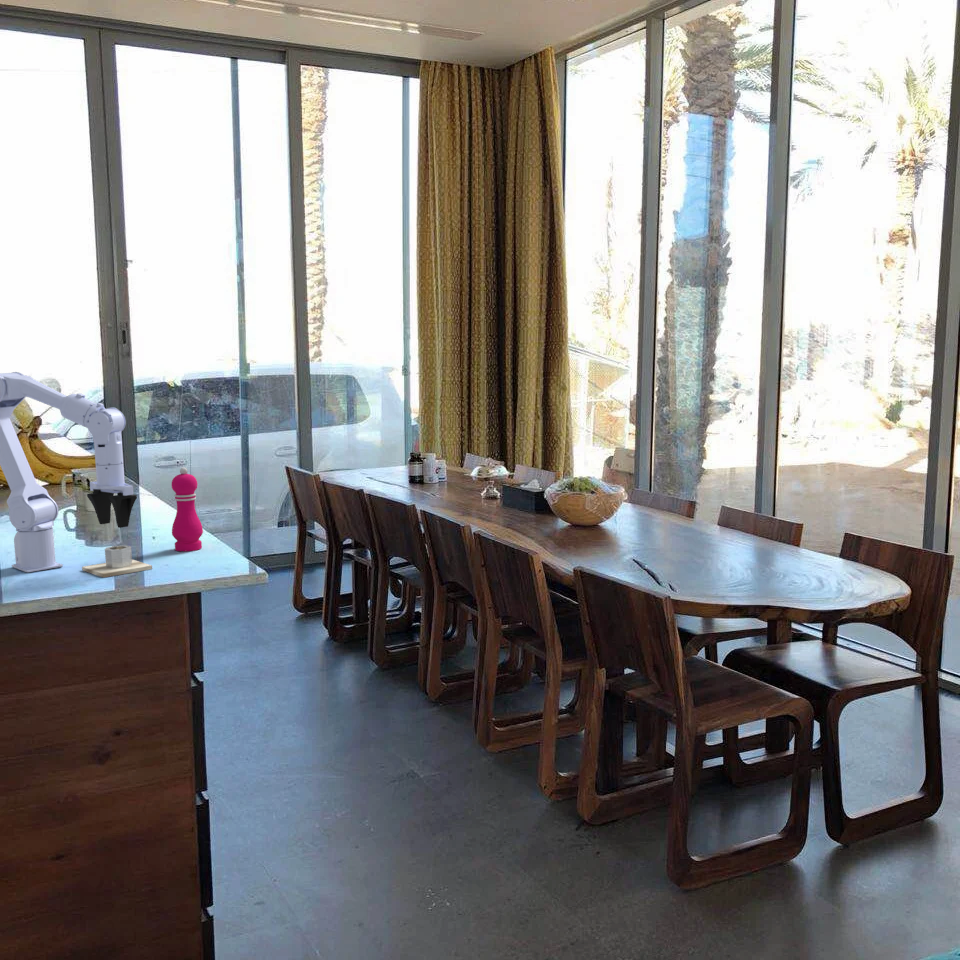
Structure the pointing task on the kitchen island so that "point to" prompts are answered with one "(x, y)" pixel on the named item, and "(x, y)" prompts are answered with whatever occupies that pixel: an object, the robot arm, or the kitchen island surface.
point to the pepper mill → (186, 513)
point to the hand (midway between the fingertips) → (113, 525)
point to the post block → (116, 569)
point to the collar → (118, 556)
